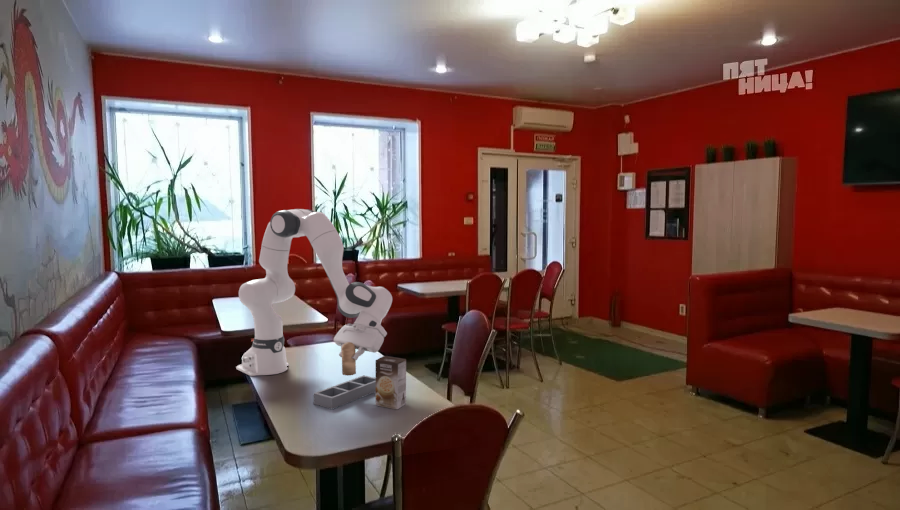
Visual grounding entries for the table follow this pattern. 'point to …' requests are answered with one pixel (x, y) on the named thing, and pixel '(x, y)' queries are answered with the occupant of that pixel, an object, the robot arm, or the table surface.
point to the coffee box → (390, 382)
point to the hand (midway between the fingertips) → (347, 357)
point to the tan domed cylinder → (348, 359)
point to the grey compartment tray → (345, 392)
